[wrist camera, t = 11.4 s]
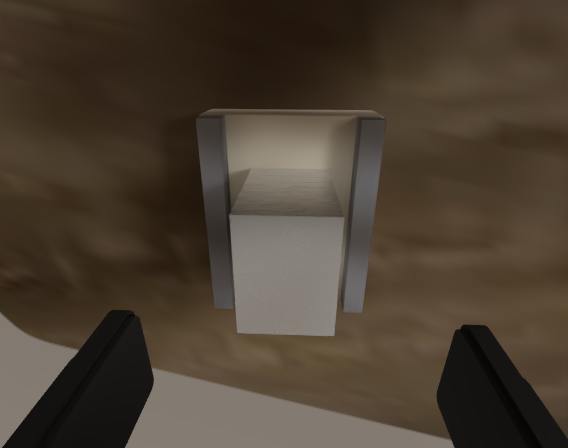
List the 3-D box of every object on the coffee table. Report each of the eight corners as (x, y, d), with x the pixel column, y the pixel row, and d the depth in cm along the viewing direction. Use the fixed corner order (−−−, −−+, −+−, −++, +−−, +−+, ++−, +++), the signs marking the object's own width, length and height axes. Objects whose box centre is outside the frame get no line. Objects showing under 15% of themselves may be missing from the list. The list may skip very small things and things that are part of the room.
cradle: (212, 108, 21) (191, 118, 17) (372, 110, 21) (390, 120, 17) (225, 271, 26) (211, 308, 22) (354, 274, 26) (364, 312, 22)
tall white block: (251, 167, 20) (229, 214, 13) (329, 168, 19) (344, 217, 13) (255, 261, 22) (237, 337, 16) (323, 262, 22) (333, 340, 16)
